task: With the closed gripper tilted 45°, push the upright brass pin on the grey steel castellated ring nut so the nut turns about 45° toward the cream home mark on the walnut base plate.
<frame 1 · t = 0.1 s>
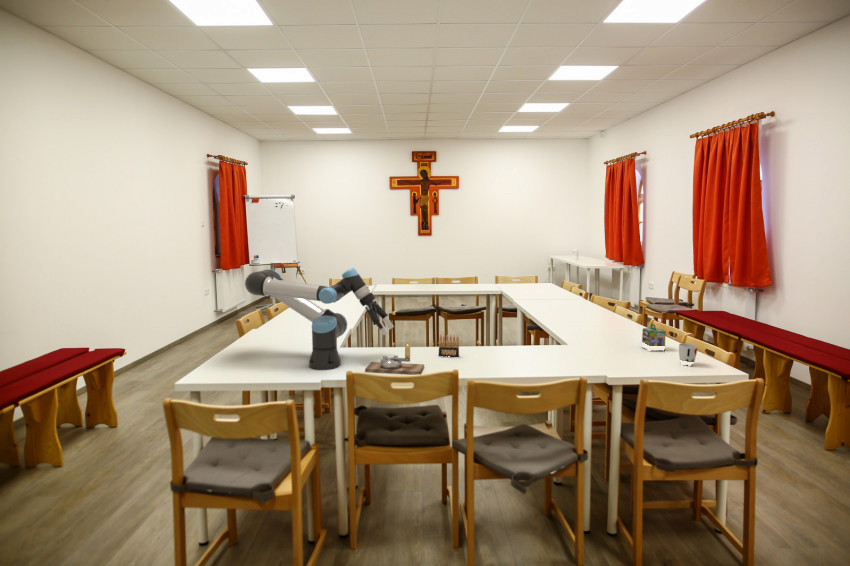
hand: (388, 330, 238), 15 cm above the table, tool tilted 35°, fingers open, 13 cm apart
ammunition clip: (448, 357, 248), on the table
lunch box: (652, 349, 267), on the table
cup: (686, 365, 238), on the table
base plate: (395, 369, 225), on the table
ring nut: (395, 355, 224), point 7 cm above the table, hinge at 0.0°
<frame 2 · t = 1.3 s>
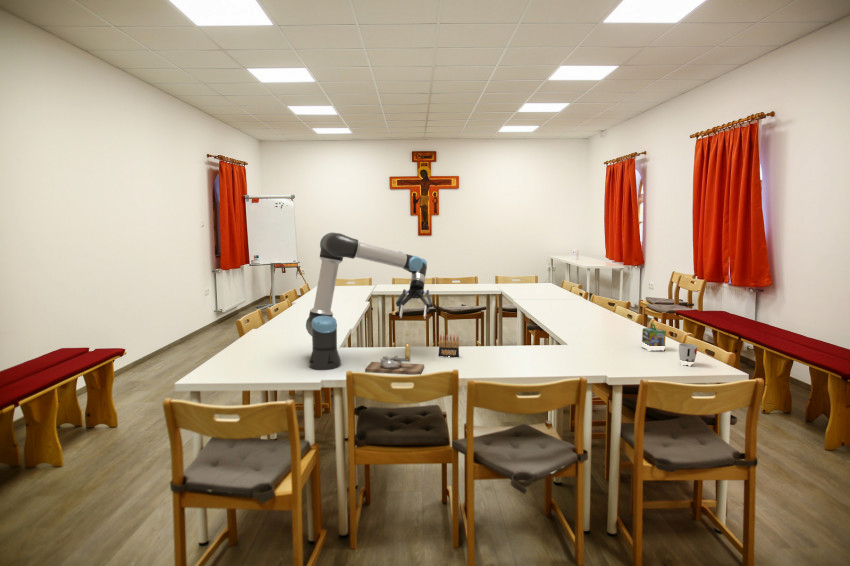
hand: (412, 317, 240), 22 cm above the table, tool tilted 45°, fingers open, 12 cm apart
nothing on the table moved.
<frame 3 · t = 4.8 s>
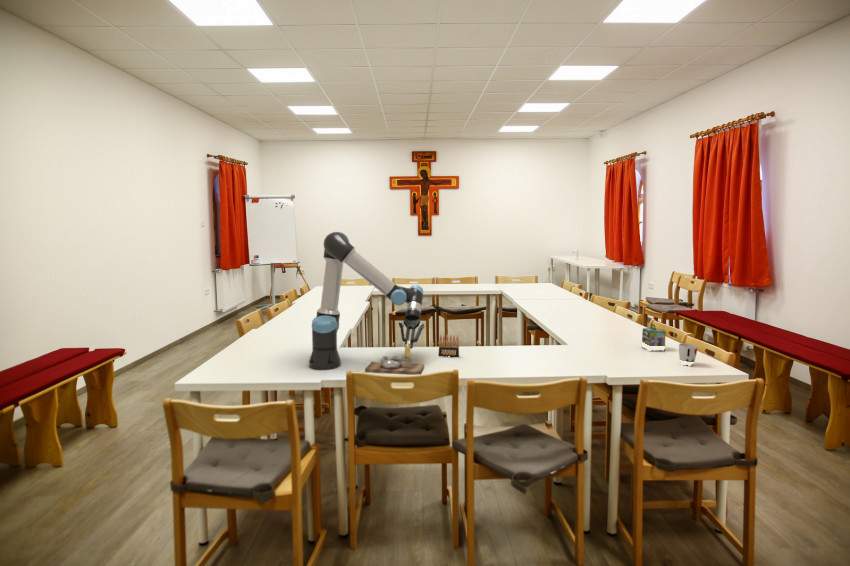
hand: (407, 353, 226), 7 cm above the table, tool tilted 45°, fingers closed
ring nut: (395, 355, 224), point 7 cm above the table, hinge at 0.2°, touching gripper
everything else where it was.
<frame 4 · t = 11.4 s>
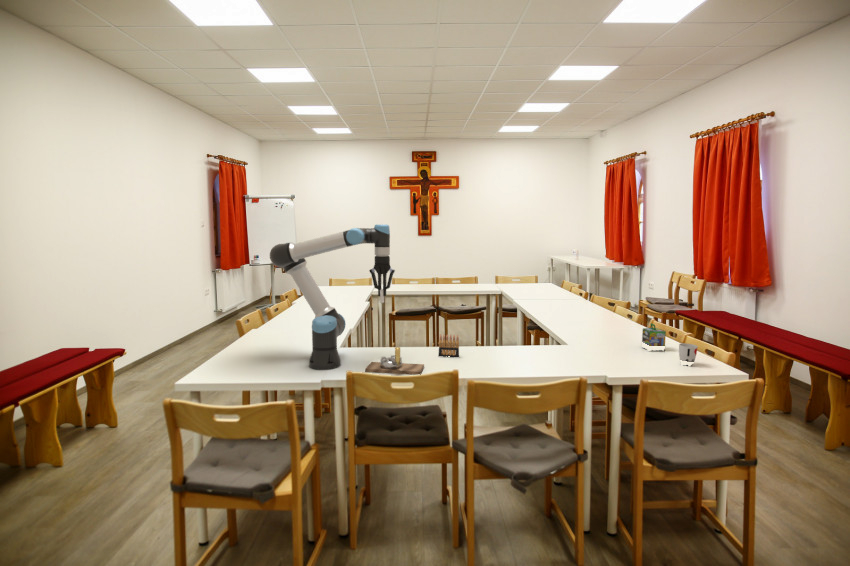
hand: (382, 302, 239), 29 cm above the table, tool pointing down, fingers closed
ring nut: (392, 355, 223), point 7 cm above the table, hinge at 55.5°
everything else where it was.
at the end: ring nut at +56° (first picture: +0°) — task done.
